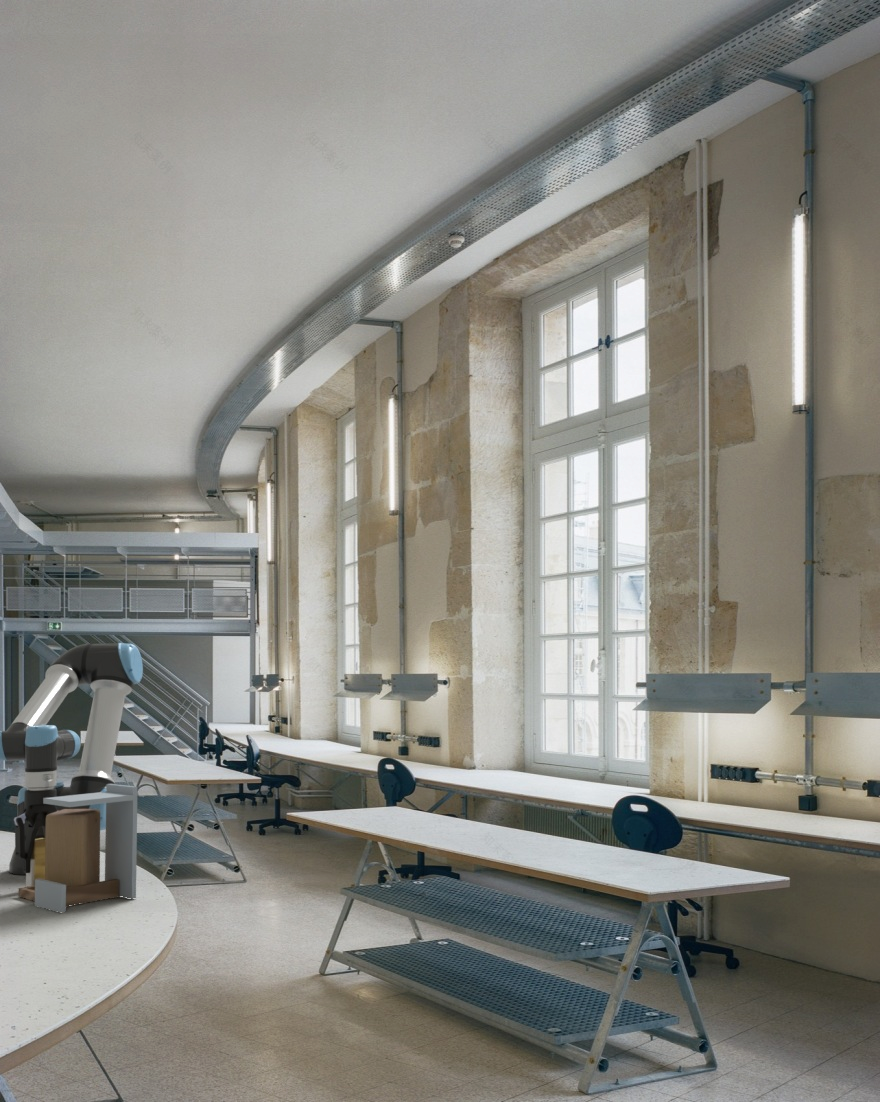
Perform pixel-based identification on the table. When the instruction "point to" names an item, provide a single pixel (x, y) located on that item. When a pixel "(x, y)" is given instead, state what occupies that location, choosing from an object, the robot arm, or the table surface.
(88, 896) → the pull yoke
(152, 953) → the table surface
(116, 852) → the shelf
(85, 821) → the wooden block
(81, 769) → the robot arm
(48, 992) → the table surface
